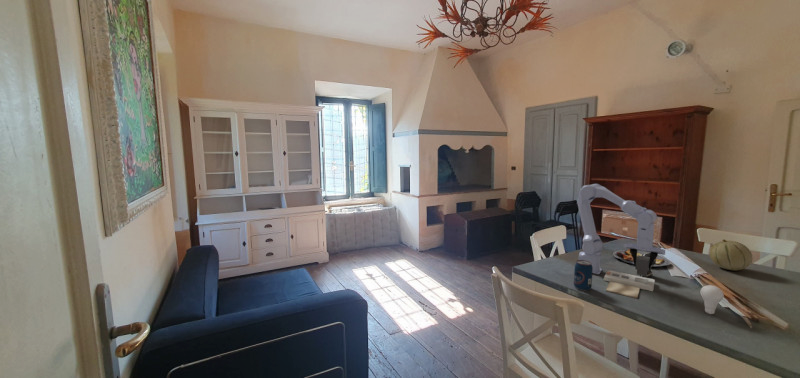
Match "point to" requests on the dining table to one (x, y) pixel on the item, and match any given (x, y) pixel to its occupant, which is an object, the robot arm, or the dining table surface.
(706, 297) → the lightbulb
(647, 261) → the block
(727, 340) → the dining table surface
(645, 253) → the battery charger
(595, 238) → the robot arm
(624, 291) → the pad
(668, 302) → the dining table surface
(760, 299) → the dining table surface
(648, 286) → the white slotted block
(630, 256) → the food plate
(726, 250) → the cantaloupe
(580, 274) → the soda can
